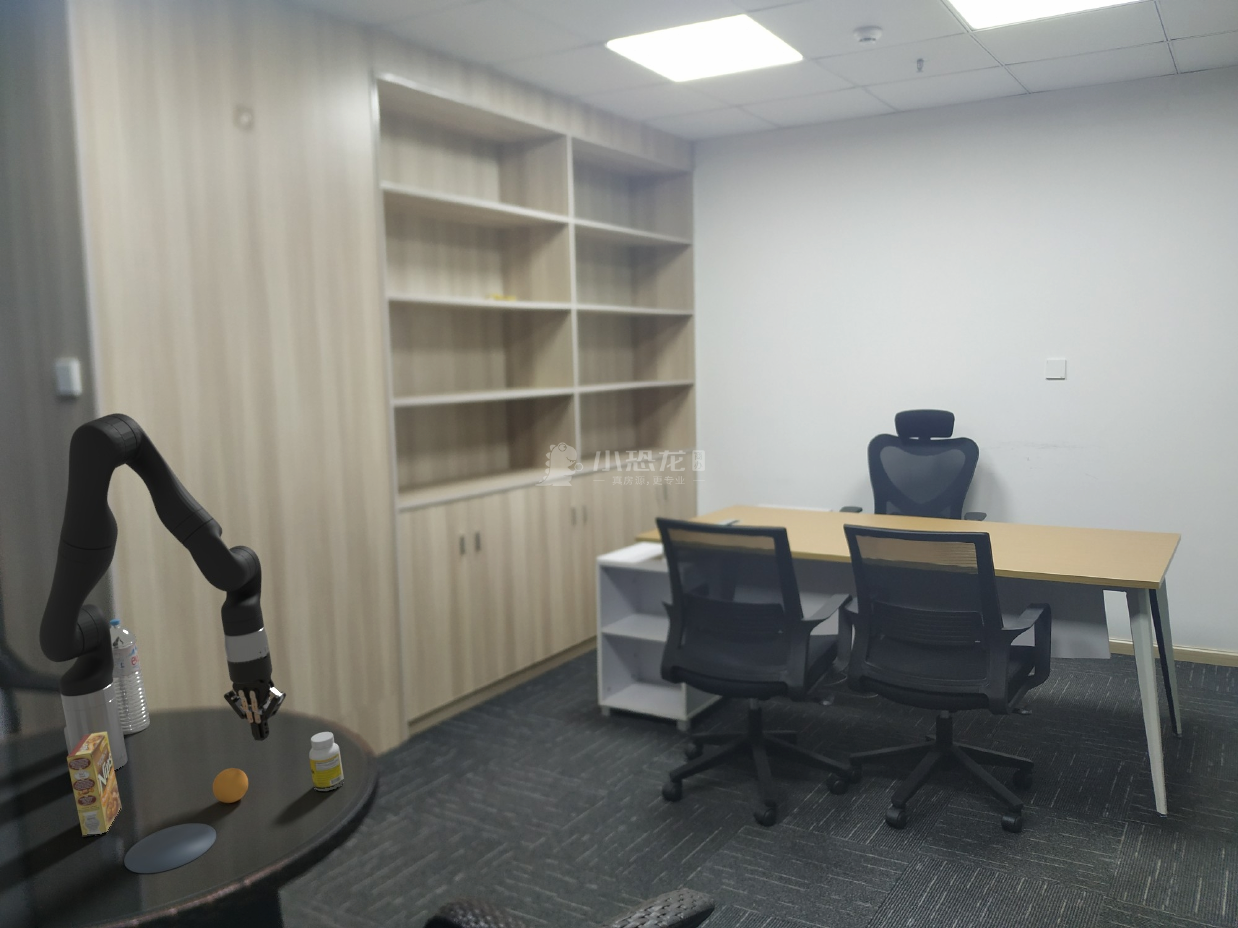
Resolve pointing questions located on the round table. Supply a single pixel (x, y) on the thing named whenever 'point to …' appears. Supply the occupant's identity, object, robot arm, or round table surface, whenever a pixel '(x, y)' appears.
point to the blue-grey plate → (170, 848)
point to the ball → (230, 785)
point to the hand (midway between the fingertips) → (261, 738)
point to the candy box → (94, 783)
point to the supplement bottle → (325, 761)
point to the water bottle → (128, 680)
